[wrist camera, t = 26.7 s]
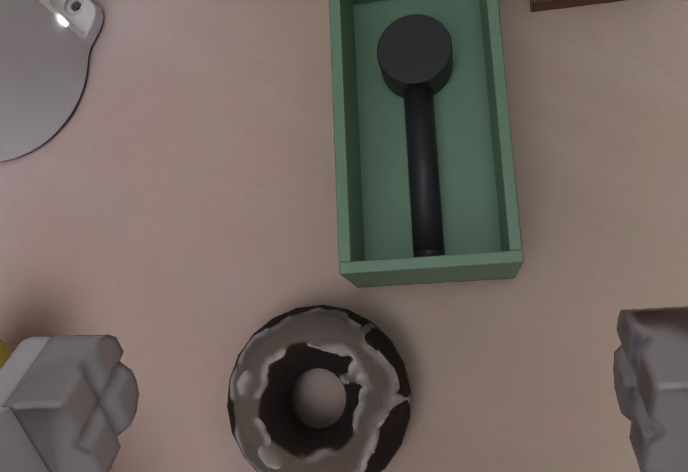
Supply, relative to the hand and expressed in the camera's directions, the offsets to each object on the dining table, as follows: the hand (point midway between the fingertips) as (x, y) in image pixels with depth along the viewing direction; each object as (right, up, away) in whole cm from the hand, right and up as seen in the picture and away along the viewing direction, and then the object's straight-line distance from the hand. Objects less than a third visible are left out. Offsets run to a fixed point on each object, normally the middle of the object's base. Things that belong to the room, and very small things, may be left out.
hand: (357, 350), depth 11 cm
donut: (-1, -9, +33) cm, 34 cm away
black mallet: (+5, +7, +34) cm, 35 cm away
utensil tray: (+5, +9, +35) cm, 37 cm away
